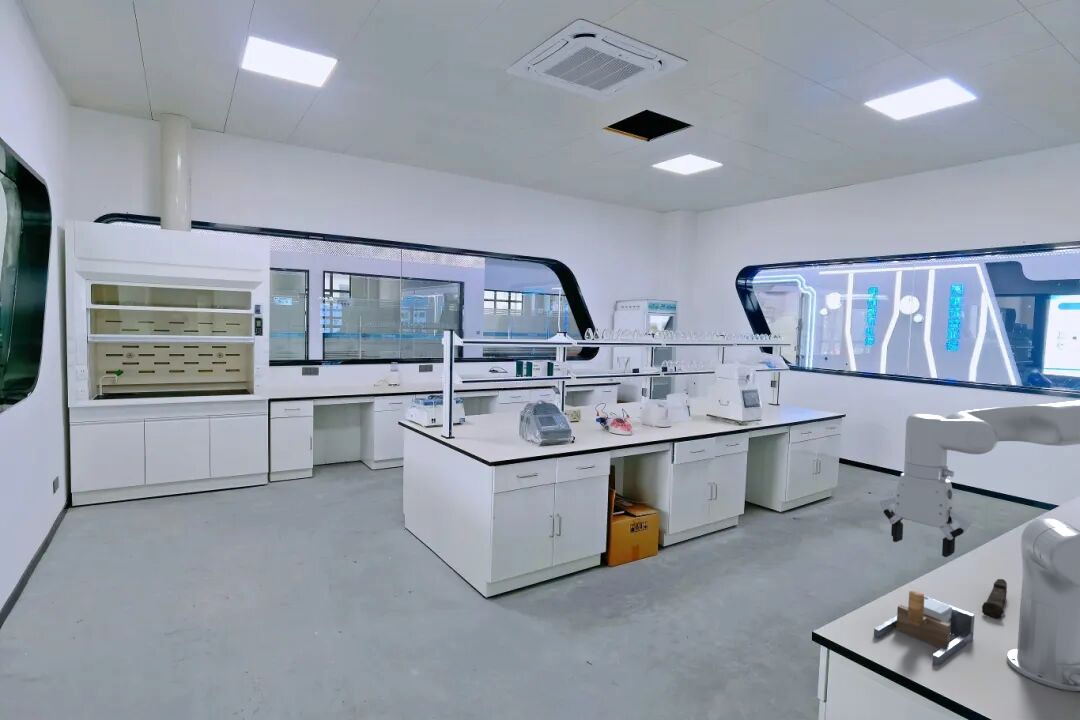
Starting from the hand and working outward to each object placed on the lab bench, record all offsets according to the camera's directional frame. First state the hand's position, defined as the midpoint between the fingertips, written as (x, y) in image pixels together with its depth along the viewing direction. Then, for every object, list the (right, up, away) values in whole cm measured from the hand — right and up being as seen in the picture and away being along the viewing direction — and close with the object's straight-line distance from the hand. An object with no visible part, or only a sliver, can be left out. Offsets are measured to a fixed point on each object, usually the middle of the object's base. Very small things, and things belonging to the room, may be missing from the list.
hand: (921, 547), depth 121 cm
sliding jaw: (+1, -22, +2) cm, 22 cm away
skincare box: (+6, -22, +6) cm, 24 cm away
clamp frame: (+3, -22, +4) cm, 23 cm away
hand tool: (+33, -22, +21) cm, 45 cm away
